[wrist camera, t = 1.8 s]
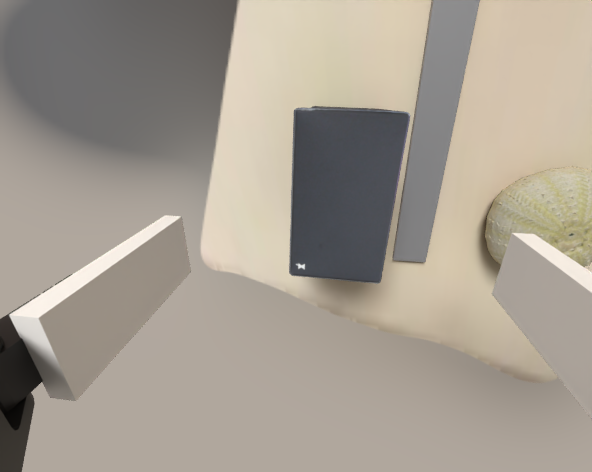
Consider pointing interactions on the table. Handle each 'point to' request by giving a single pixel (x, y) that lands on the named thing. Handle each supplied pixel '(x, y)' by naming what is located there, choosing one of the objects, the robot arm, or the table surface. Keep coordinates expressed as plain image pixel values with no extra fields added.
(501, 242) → the sea urchin shell
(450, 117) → the gray strip
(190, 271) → the robot arm
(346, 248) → the small box
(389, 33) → the table surface
